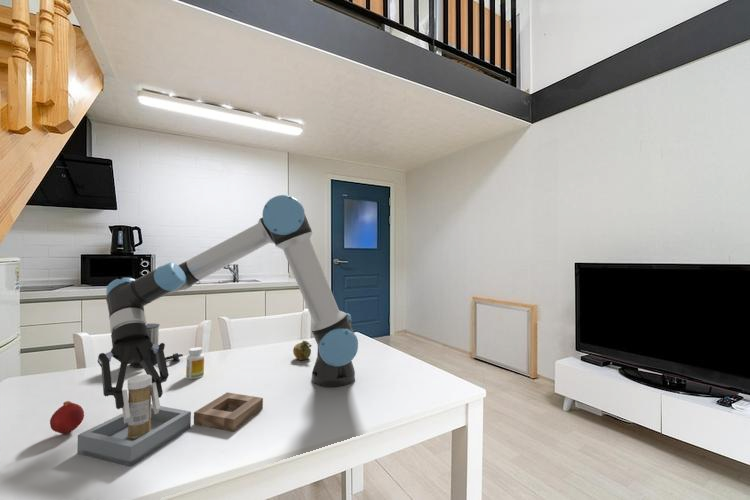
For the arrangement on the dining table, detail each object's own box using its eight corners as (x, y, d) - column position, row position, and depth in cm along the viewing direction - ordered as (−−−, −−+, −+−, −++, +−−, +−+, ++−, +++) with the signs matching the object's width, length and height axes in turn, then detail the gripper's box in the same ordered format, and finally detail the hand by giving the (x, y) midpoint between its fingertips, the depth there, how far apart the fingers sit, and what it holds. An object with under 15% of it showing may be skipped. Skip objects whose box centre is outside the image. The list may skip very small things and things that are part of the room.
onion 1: (65, 427, 78) (65, 395, 78) (90, 426, 78) (90, 394, 78) (42, 441, 72) (43, 406, 72) (69, 440, 73) (70, 406, 73)
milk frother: (125, 364, 121) (126, 325, 121) (170, 354, 134) (171, 319, 134) (139, 373, 113) (141, 331, 113) (186, 361, 126) (187, 324, 126)
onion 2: (311, 355, 136) (312, 336, 136) (311, 361, 128) (311, 342, 128) (293, 356, 134) (294, 337, 134) (292, 362, 126) (292, 342, 127)
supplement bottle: (207, 374, 113) (207, 346, 113) (197, 379, 108) (197, 351, 108) (193, 373, 114) (193, 346, 114) (182, 379, 108) (183, 350, 108)
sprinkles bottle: (153, 427, 77) (154, 372, 77) (147, 438, 72) (148, 380, 72) (131, 431, 75) (132, 375, 75) (123, 442, 71) (124, 382, 71)
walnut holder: (262, 408, 89) (262, 397, 89) (233, 431, 78) (233, 419, 78) (226, 402, 92) (227, 392, 92) (193, 424, 81) (194, 412, 81)
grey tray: (190, 427, 79) (190, 411, 79) (130, 466, 64) (131, 446, 64) (143, 418, 83) (144, 403, 83) (77, 453, 68) (77, 434, 68)
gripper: (166, 332, 91) (183, 409, 79) (81, 344, 78) (87, 439, 66) (172, 316, 87) (190, 395, 76) (84, 326, 74) (91, 423, 63)
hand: (142, 415), depth 71 cm, fingers open, 5 cm apart
